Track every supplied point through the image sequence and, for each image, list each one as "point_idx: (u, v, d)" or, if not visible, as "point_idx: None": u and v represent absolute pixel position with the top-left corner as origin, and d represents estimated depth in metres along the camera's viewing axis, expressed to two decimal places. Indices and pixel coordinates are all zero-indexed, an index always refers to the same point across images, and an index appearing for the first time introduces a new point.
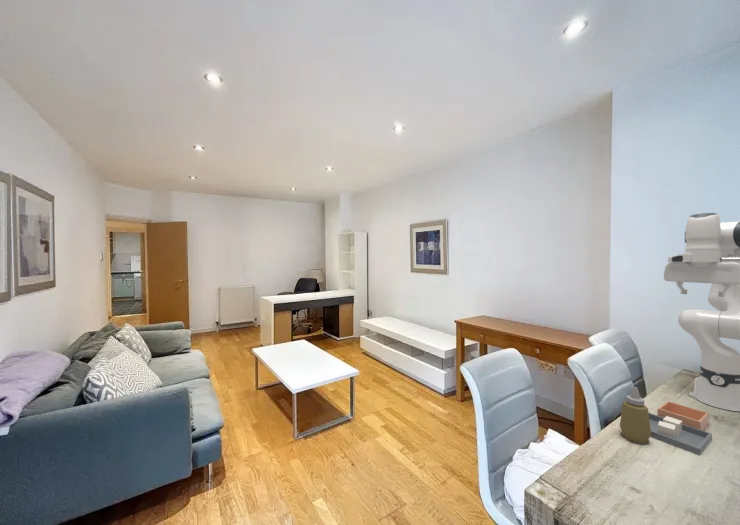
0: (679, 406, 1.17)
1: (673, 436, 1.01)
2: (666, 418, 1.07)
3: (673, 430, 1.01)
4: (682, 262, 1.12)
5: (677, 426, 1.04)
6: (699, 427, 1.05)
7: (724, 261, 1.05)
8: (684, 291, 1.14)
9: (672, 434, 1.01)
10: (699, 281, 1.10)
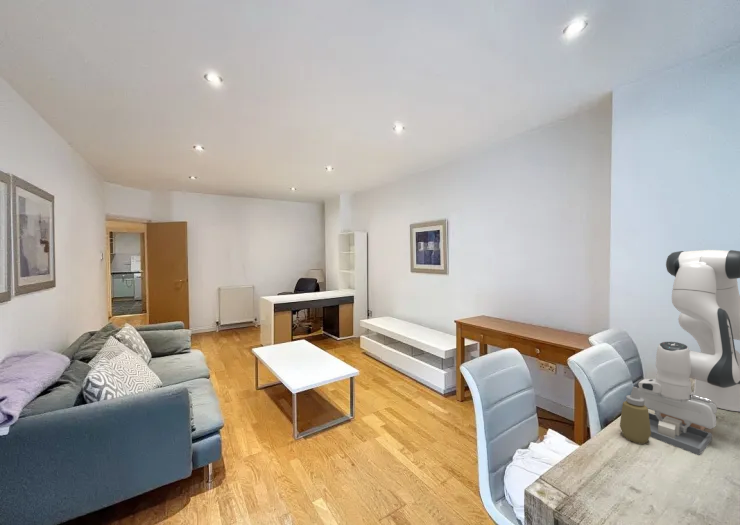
0: None
1: (673, 436, 1.01)
2: (666, 418, 1.07)
3: (673, 430, 1.01)
4: (652, 391, 1.08)
5: (677, 426, 1.04)
6: (699, 427, 1.05)
7: (694, 399, 1.01)
8: None
9: (672, 434, 1.01)
10: (669, 414, 1.06)
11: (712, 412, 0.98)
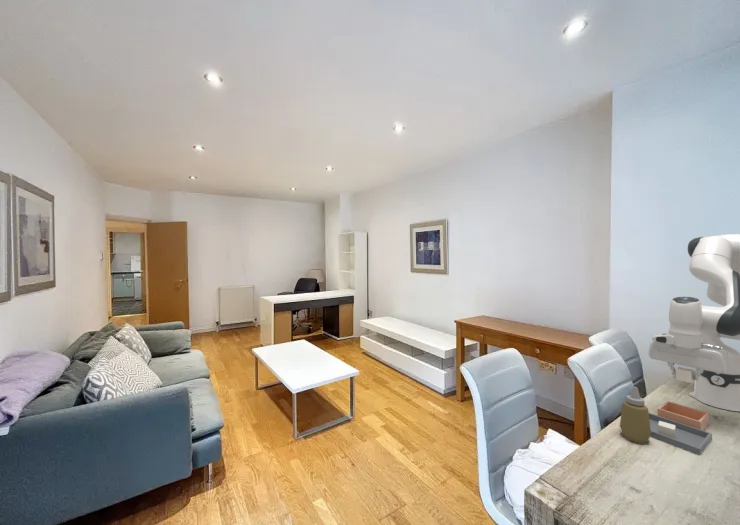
0: (679, 406, 1.17)
1: (673, 436, 1.01)
2: (679, 368, 1.14)
3: (673, 430, 1.01)
4: (666, 343, 1.15)
5: (690, 374, 1.11)
6: (699, 427, 1.05)
7: (705, 348, 1.09)
8: (675, 372, 1.15)
9: (672, 434, 1.01)
10: (682, 364, 1.13)
11: (723, 358, 1.05)
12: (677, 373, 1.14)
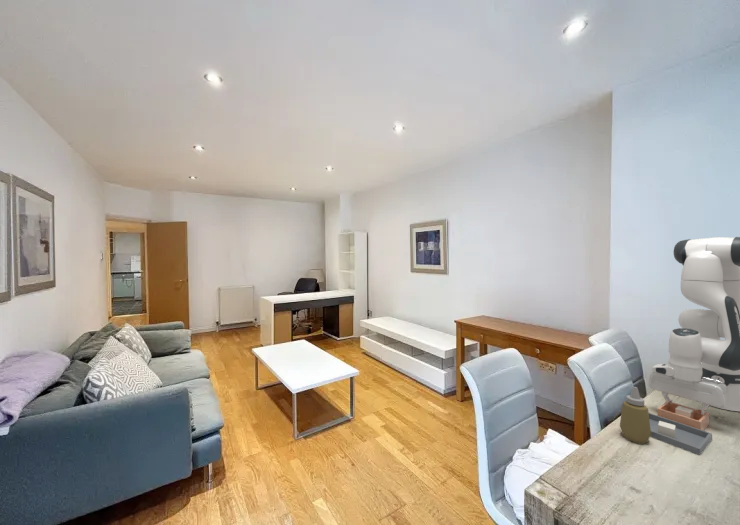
0: None
1: (673, 436, 1.01)
2: (678, 407, 1.15)
3: (673, 430, 1.01)
4: (665, 375, 1.16)
5: (689, 415, 1.11)
6: (699, 427, 1.05)
7: (705, 381, 1.09)
8: (669, 402, 1.17)
9: (672, 434, 1.01)
10: (681, 396, 1.13)
11: (722, 392, 1.05)
12: (676, 413, 1.14)
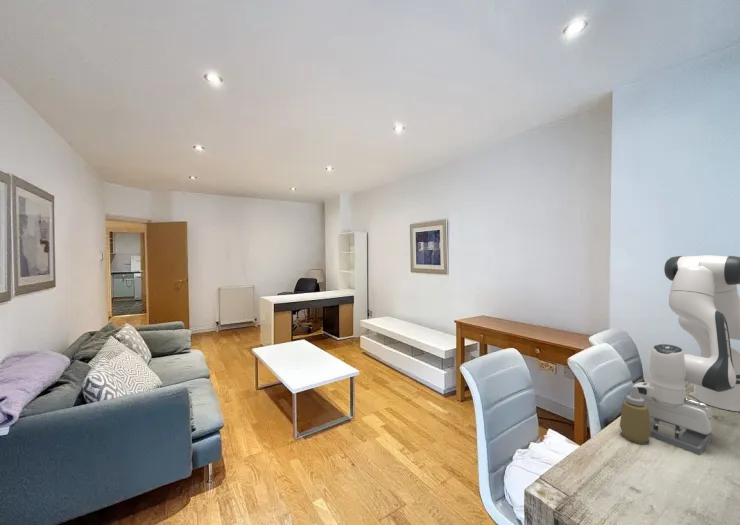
0: None
1: (673, 436, 1.01)
2: None
3: (673, 430, 1.01)
4: (646, 395, 1.05)
5: None
6: None
7: (688, 404, 0.98)
8: (655, 427, 1.05)
9: (672, 434, 1.01)
10: (663, 419, 1.03)
11: (707, 417, 0.94)
12: None
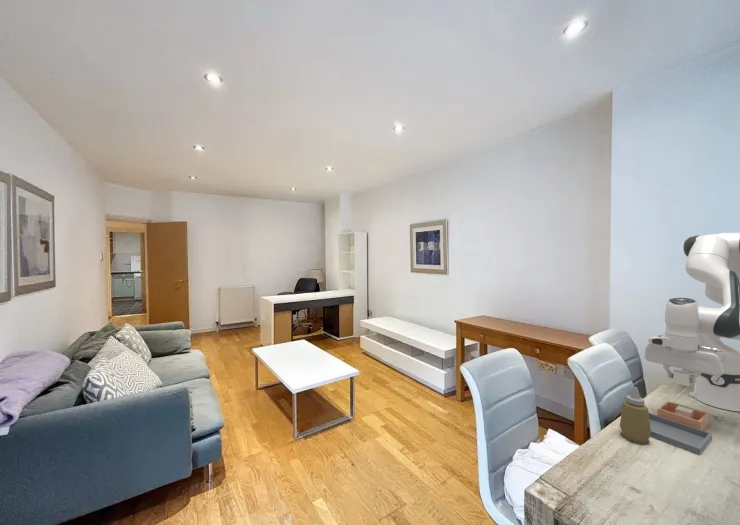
0: None
1: (687, 381, 1.08)
2: (678, 407, 1.15)
3: (687, 375, 1.08)
4: (662, 345, 1.13)
5: (689, 415, 1.11)
6: (699, 427, 1.05)
7: (702, 350, 1.06)
8: (671, 375, 1.13)
9: (686, 379, 1.09)
10: (678, 366, 1.10)
11: (720, 360, 1.02)
12: (676, 413, 1.14)
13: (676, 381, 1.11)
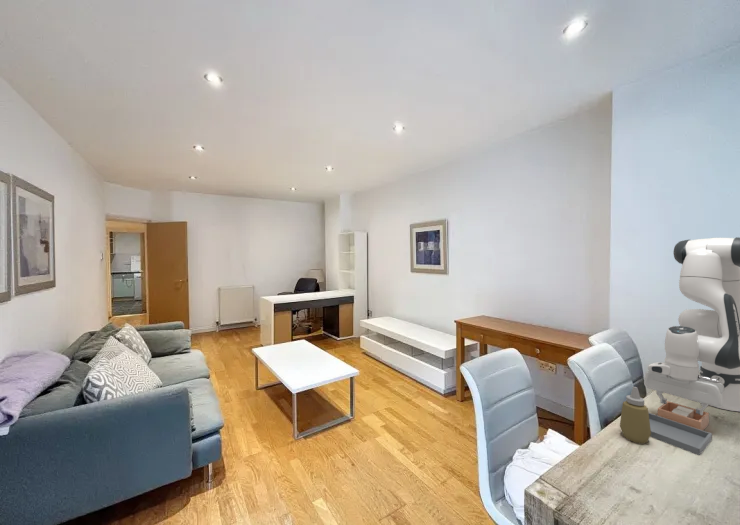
0: None
1: None
2: (678, 407, 1.15)
3: (685, 416, 1.09)
4: (661, 374, 1.13)
5: (689, 415, 1.11)
6: (699, 427, 1.05)
7: (702, 380, 1.06)
8: (664, 401, 1.15)
9: None
10: (678, 395, 1.11)
11: (719, 391, 1.03)
12: None
13: None
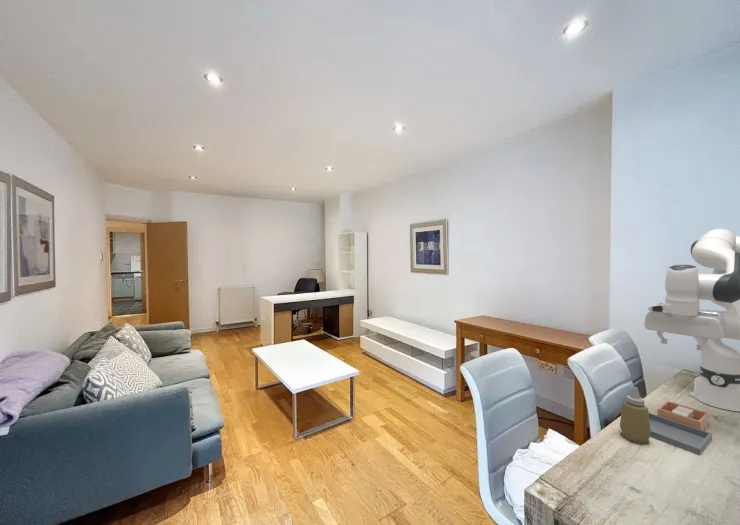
0: None
1: None
2: (678, 407, 1.15)
3: (685, 416, 1.09)
4: (662, 312, 1.13)
5: (689, 415, 1.11)
6: (699, 427, 1.05)
7: (702, 315, 1.06)
8: (664, 341, 1.14)
9: None
10: (678, 333, 1.10)
11: (720, 324, 1.02)
12: None
13: None
